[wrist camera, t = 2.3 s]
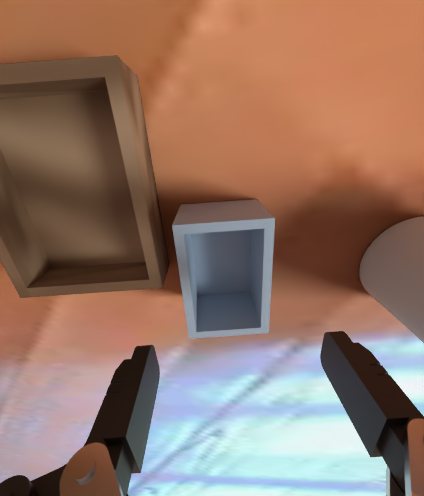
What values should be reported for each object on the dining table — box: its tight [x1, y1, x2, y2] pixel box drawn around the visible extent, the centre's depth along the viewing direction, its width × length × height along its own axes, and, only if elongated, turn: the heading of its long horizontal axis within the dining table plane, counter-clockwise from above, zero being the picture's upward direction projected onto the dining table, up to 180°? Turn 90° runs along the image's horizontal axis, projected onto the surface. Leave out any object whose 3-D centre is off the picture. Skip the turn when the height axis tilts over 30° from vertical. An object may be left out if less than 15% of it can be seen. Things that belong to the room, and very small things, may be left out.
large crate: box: [0, 55, 169, 298], centre depth 15 cm, size 14×11×4 cm
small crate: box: [172, 199, 275, 339], centre depth 17 cm, size 9×6×5 cm, turn 4°
